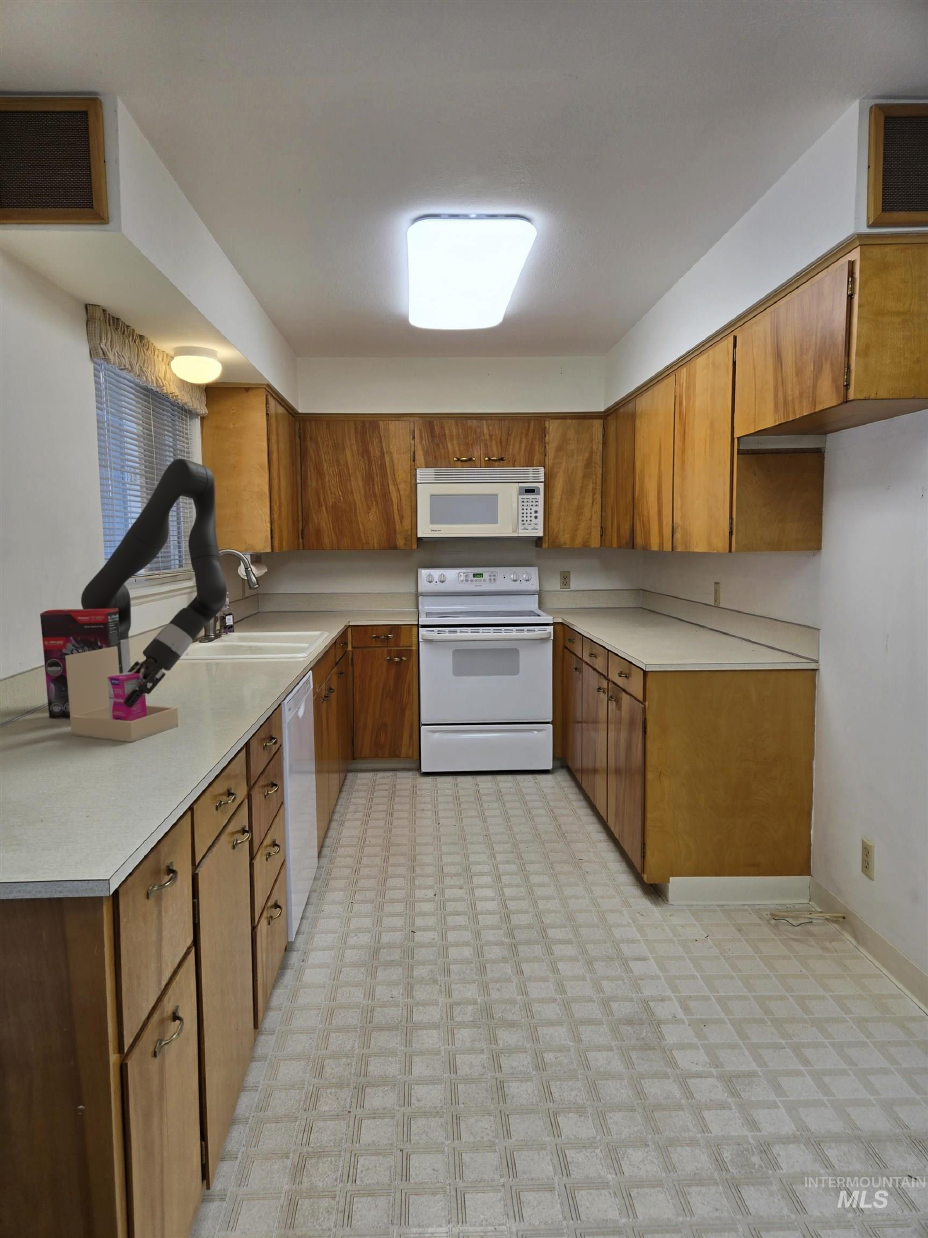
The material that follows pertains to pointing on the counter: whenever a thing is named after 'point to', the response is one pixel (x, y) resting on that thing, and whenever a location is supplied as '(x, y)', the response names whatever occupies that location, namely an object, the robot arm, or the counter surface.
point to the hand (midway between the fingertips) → (120, 702)
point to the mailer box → (106, 701)
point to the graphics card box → (74, 647)
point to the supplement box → (124, 697)
